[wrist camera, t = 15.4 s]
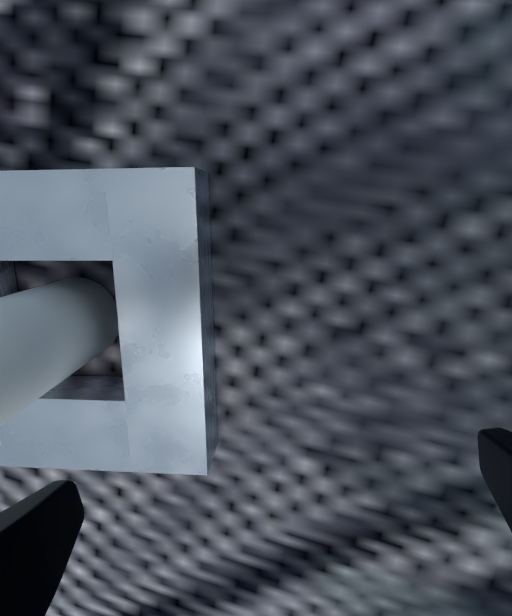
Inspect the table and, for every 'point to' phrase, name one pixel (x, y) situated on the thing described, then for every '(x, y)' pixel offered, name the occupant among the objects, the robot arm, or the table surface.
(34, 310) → the plug
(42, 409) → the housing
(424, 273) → the table surface
